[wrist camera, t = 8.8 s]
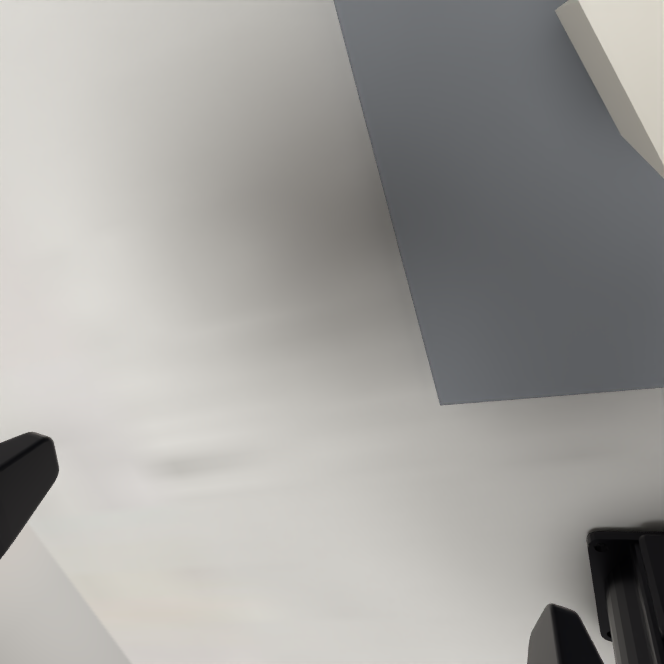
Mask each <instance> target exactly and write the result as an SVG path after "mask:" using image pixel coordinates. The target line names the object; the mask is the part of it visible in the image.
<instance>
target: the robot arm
mask: <svg viewBox="0 0 664 664" xmlns="http://www.w3.org/2000/svg"><path fill="white" fill-rule="evenodd" d="M58 473H59V465H58V460H57V455H56V451H55V446H54V442H53V440H52V439H51V438H50V437H48V436H45V435H42V434H39V433H36V432H28V433H25V434H22V435H19V436H17V437H14V438H12V439H9V440H7V441H4V442H2V443H0V559H1V558H2V556H3V555H4V554H5V552H6V551H7V550H8V549H9V547H10V546H11V544H12V543H13V542H14V540H15V539H16V537H17V536H18V534H19V533H20V532H21V530H22V529H23V527H24V526H25V524H26V523H27V521H28V520H29V519H30V517H31V516H32V514H33V513H34V511H35V510H36V508H37V507H38V505H39V504H40V503H41V501H42V500H43V498H44V497H45V495H46V494H47V492H48V491H49V489H50V488H51V487H52V485H53V484H54V482H55V480H56V478H57V476H58ZM599 543H602V544H599ZM587 546H588V552H589V559H590V566H591V573H592V579H593V586H594V593H595V599H596V606H597V613H598V619H599V626H600V633H601V636H602V637H603V638H604V639H606V640H608V641H612V642H613V649H614V655H615V661H616V664H664V532H620V531H597V532H592V533H590V534H589V535H588V536H587ZM527 664H604V663H603V661H602V659H601V657H600V655H599V653H598V651H597V649H596V647H595V645H594V643H593V641H592V640H591V638H590V636H589V634H588V632H587V630H586V628H585V626H584V624H583V622H582V620H581V618H580V617H579V615H578V614H577V613H576V612H575V611H573V610H571V609H568V608H565V607H562V606H559V605H556V604H552V603H551V604H548V605H547V606H546V607H545V609H544V611H543V613H542V614H541V616H540V618H539V620H538V621H537V623H536V625H535V627H534V628H533V630H532V633H531V636H530V640H529V648H528V661H527Z"/></svg>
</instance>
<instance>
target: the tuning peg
mask: <svg viewBox="0 0 664 664" xmlns="http://www.w3.org/2000/svg"><path fill="white" fill-rule="evenodd" d="M555 12H556V14H557V16H558V18H559V20H560V21H561V23H562V25H563V27H564V29H565V31H566V33H567V35H568V36H569V38H570V40H571V42H572V44H573V46H574V48H575V50H576V52H577V53H578V55H579V57H580V59H581V61H582V63H583V65H584V67H585V68H586V70H587V72H588V74H589V76H590V78H591V80H592V82H593V83H594V85H595V87H596V89H597V91H598V93H599V95H600V97H601V98H602V100H603V102H604V104H605V106H606V108H607V110H608V112H609V113H610V115H611V117H612V119H613V121H614V123H615V125H616V127H617V128H618V130H619V132H620V134H621V136H622V137H623V138H624V139H625V140H626V141H627V142H628V143H629V144H630V145H631V146H632V147H633V148H634V149H635V150H636V151H637V152H638V153H639V154H640V155H641V156H642V157H643V158H644V159H645V160H646V161H647V162H648V163H649V164H650V165H651V166H652V167H653V168H654V169H655V170H656V171H657V172H658V173H659V174H660V175H661V176H662V177H663V178H664V0H568V1H567V2H565V3H564V4H563V5H561V6H560V7H558V8H557V9H556V10H555Z"/></svg>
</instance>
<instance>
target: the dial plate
mask: <svg viewBox="0 0 664 664" xmlns="http://www.w3.org/2000/svg"><path fill="white" fill-rule="evenodd" d="M567 1H568V0H334V4H335V7H336V11H337V15H338V19H339V23H340V26H341V30H342V34H343V38H344V42H345V45H346V49H347V53H348V57H349V61H350V64H351V68H352V72H353V76H354V80H355V83H356V87H357V91H358V95H359V99H360V102H361V106H362V110H363V114H364V118H365V121H366V125H367V129H368V133H369V136H370V140H371V144H372V148H373V152H374V155H375V159H376V163H377V167H378V171H379V174H380V178H381V182H382V186H383V190H384V193H385V197H386V201H387V205H388V209H389V212H390V216H391V220H392V224H393V228H394V231H395V235H396V239H397V243H398V247H399V250H400V254H401V258H402V262H403V266H404V269H405V273H406V277H407V281H408V285H409V288H410V292H411V296H412V300H413V304H414V307H415V311H416V315H417V319H418V323H419V326H420V330H421V334H422V338H423V342H424V345H425V349H426V353H427V357H428V361H429V364H430V368H431V372H432V376H433V380H434V383H435V387H436V391H437V395H438V399H439V402H440V405H451V404H464V403H476V402H489V401H501V400H513V399H526V398H538V397H551V396H563V395H575V394H588V393H600V392H613V391H625V390H637V389H650V388H662V387H664V178H663V177H662V176H661V175H660V174H659V173H658V172H657V171H656V170H655V169H654V168H653V167H652V166H651V165H650V164H649V163H648V162H647V161H646V160H645V159H644V158H643V157H642V156H641V155H640V154H639V153H638V152H637V151H636V150H635V149H634V148H633V147H632V146H631V145H630V144H629V143H628V142H627V141H626V140H625V139H624V138H623V137H622V136H621V134H620V132H619V130H618V128H617V127H616V125H615V123H614V121H613V119H612V117H611V115H610V113H609V112H608V110H607V108H606V106H605V104H604V102H603V100H602V98H601V97H600V95H599V93H598V91H597V89H596V87H595V85H594V83H593V82H592V80H591V78H590V76H589V74H588V72H587V70H586V68H585V67H584V65H583V63H582V61H581V59H580V57H579V55H578V53H577V52H576V50H575V48H574V46H573V44H572V42H571V40H570V38H569V36H568V35H567V33H566V31H565V29H564V27H563V25H562V23H561V21H560V20H559V18H558V16H557V14H556V12H555V10H556V9H557V8H558V7H560V6H561V5H563V4H564V3H565V2H567Z"/></svg>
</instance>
